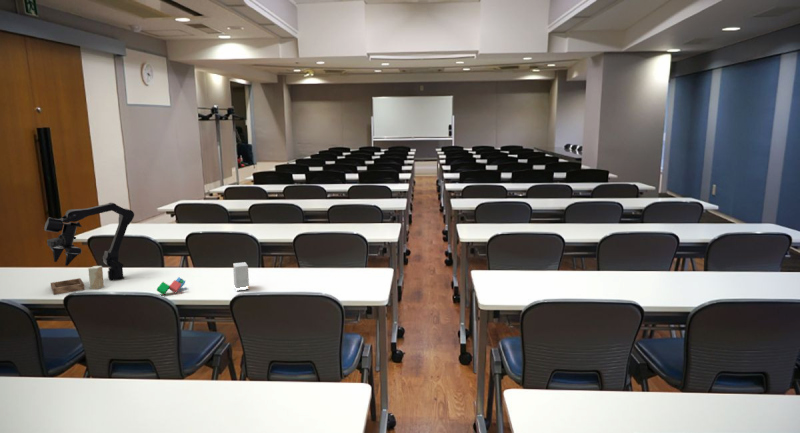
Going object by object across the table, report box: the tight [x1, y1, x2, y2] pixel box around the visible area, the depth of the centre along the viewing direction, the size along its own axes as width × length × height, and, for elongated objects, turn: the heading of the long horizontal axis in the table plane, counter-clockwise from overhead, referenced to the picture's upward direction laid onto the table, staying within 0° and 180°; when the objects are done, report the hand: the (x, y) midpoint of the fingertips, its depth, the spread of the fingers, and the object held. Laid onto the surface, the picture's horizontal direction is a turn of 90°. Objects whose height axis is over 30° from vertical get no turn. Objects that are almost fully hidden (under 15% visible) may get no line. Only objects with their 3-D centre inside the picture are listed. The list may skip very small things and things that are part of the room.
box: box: [87, 265, 105, 290], centre depth 255 cm, size 5×4×11 cm
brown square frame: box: [50, 278, 85, 296], centre depth 254 cm, size 13×13×3 cm
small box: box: [232, 261, 250, 288], centre depth 254 cm, size 8×6×13 cm
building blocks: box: [156, 276, 186, 295], centre depth 249 cm, size 8×8×12 cm
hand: (60, 263), depth 253 cm, fingers open, 9 cm apart
